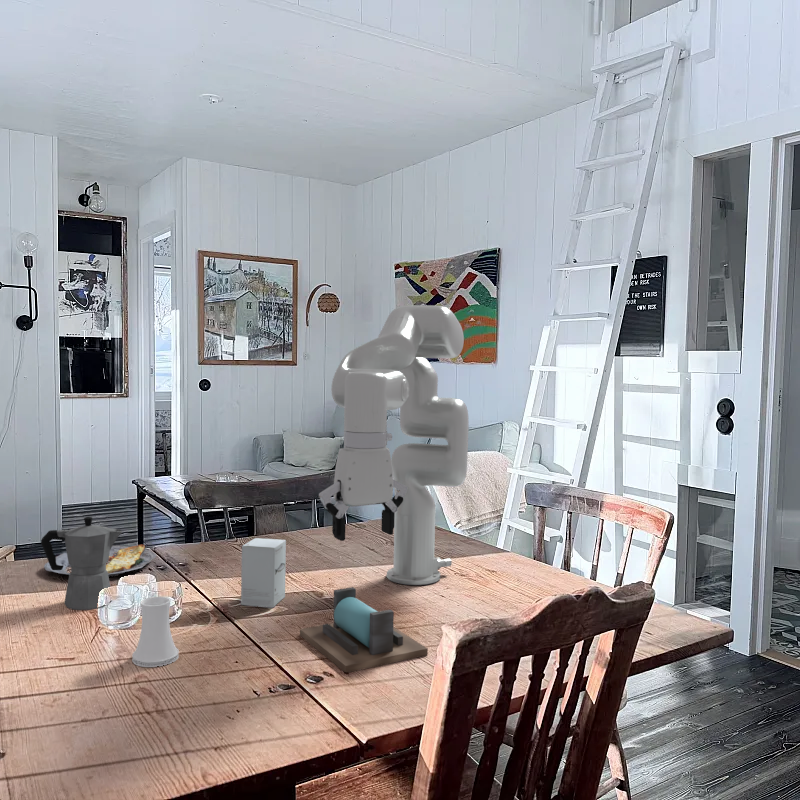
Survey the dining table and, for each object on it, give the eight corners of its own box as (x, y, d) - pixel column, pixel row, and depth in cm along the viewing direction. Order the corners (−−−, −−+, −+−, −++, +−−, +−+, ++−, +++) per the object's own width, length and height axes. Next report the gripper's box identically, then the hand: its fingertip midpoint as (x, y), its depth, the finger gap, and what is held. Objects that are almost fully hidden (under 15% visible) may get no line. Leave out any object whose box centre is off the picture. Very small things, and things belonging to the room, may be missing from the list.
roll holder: (375, 621, 152) (376, 580, 151) (427, 655, 136) (428, 609, 135) (299, 635, 144) (300, 592, 143) (345, 673, 127) (346, 624, 127)
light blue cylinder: (333, 630, 143) (334, 598, 142) (361, 626, 146) (363, 595, 146) (361, 651, 133) (363, 617, 133) (391, 646, 136) (393, 612, 136)
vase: (153, 671, 127) (152, 611, 126) (122, 660, 131) (122, 602, 130) (188, 656, 133) (188, 599, 132) (158, 646, 137) (158, 591, 136)
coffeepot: (122, 593, 166) (122, 510, 165) (123, 607, 157) (122, 519, 156) (43, 600, 161) (42, 514, 160) (39, 614, 152) (38, 524, 151)
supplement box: (273, 608, 158) (274, 547, 158) (240, 605, 160) (240, 545, 159) (286, 597, 166) (287, 539, 165) (253, 594, 167) (254, 536, 166)
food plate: (77, 551, 199) (77, 537, 199) (167, 554, 198) (167, 541, 198) (28, 583, 174) (28, 567, 174) (130, 587, 173) (130, 571, 173)
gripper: (396, 436, 145) (394, 526, 146) (311, 440, 136) (310, 536, 137) (417, 441, 138) (415, 535, 140) (330, 446, 130) (328, 546, 131)
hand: (363, 536), depth 138 cm, fingers open, 9 cm apart
